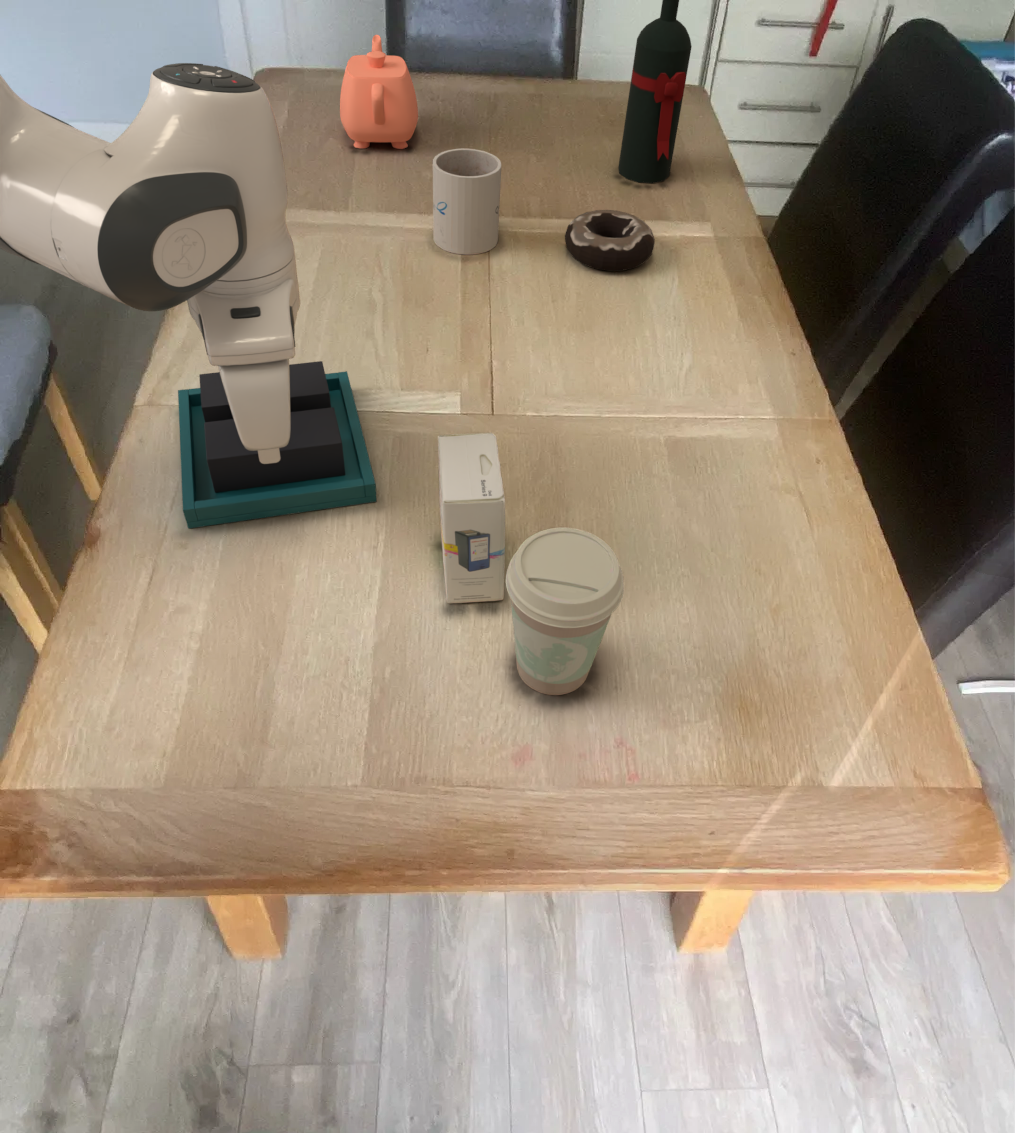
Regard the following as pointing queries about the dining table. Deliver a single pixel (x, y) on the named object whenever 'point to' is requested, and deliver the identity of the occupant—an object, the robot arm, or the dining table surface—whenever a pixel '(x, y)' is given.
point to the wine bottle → (655, 98)
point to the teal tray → (280, 498)
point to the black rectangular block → (304, 391)
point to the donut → (609, 240)
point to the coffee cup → (561, 605)
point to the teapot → (378, 99)
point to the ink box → (471, 517)
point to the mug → (466, 201)
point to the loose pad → (301, 460)
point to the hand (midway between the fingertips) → (265, 425)
